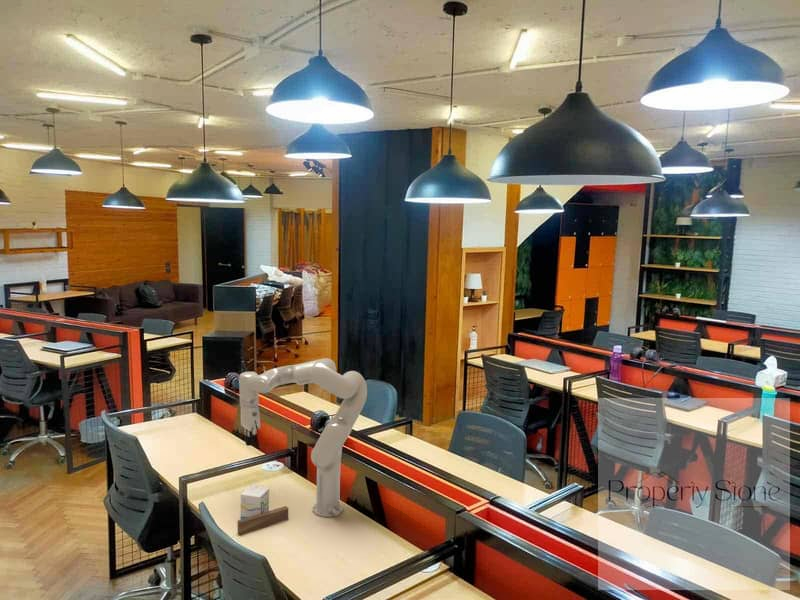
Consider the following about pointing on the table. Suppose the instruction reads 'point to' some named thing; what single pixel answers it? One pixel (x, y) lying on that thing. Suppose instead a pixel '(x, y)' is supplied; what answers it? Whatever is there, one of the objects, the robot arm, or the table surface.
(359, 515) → the table surface
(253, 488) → the ink box
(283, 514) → the board
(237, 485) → the table surface
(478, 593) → the table surface
